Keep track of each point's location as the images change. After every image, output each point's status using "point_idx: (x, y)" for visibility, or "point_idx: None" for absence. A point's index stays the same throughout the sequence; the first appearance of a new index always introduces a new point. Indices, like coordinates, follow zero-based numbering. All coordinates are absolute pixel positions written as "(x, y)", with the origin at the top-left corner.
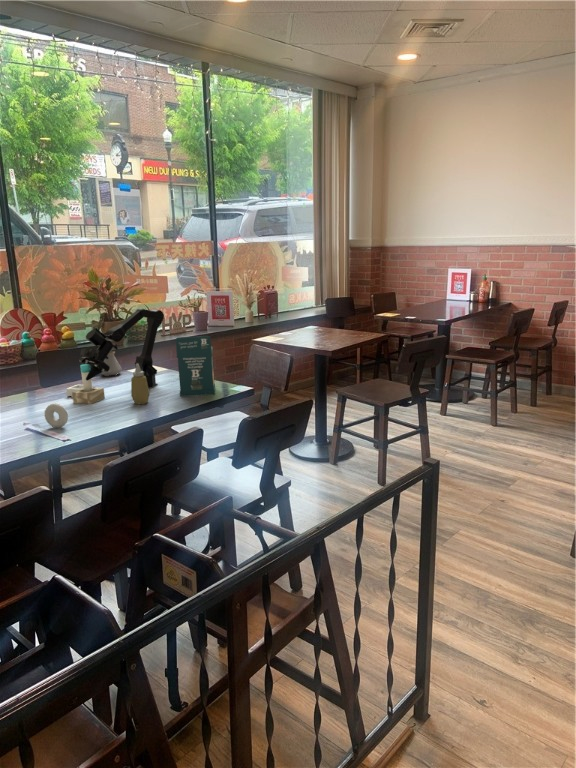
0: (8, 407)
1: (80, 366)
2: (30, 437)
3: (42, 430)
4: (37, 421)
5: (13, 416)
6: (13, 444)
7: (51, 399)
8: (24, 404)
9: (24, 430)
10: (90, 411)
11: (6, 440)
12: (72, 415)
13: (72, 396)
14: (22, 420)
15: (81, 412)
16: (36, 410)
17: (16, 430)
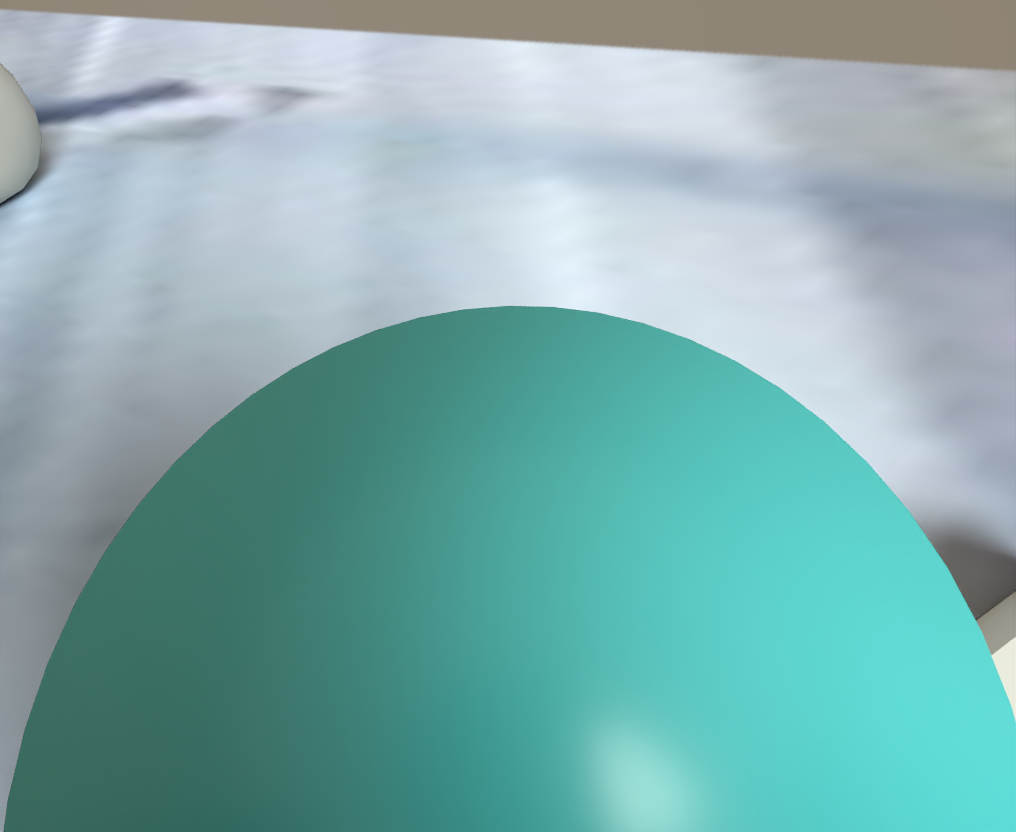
0: (869, 71)
1: (536, 335)
2: (20, 82)
3: (57, 135)
4: (266, 145)
5: (542, 70)
6: (18, 29)
7: (986, 374)
8: (903, 158)
9: (166, 77)
10: (79, 510)
11: (106, 16)
12: (145, 344)
13: (977, 620)
14: (384, 93)
15: (144, 432)
16: (584, 188)
17: (211, 54)
